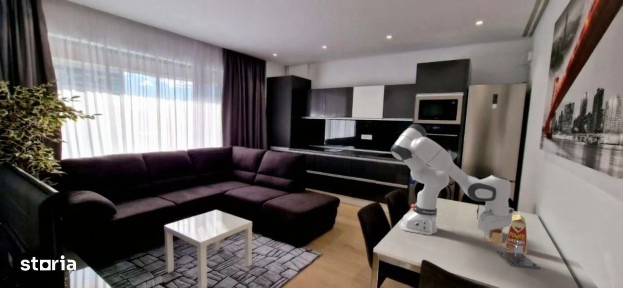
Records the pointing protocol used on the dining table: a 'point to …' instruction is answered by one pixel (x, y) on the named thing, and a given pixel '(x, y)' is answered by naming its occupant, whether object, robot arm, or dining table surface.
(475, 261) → the dining table surface
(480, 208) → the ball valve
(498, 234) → the wooden faceted bowl
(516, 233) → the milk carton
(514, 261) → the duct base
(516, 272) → the dining table surface
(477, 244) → the dining table surface
